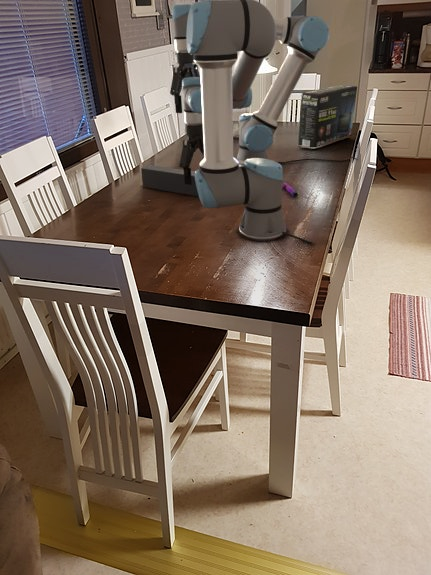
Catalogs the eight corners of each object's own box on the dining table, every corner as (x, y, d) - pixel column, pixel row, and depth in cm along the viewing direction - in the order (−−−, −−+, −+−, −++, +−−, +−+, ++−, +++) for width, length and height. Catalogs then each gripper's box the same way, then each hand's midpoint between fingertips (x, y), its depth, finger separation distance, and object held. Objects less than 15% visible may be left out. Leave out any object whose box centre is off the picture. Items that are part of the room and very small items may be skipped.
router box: (314, 151, 231) (318, 94, 217) (296, 148, 237) (299, 92, 224) (352, 138, 251) (358, 85, 238) (335, 135, 258) (340, 83, 245)
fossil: (240, 133, 254) (221, 116, 257) (229, 149, 261) (212, 132, 264) (255, 132, 268) (238, 116, 271) (245, 147, 274) (228, 131, 277)
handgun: (264, 183, 192) (264, 178, 191) (281, 181, 193) (281, 176, 192) (279, 199, 175) (279, 194, 174) (298, 197, 176) (298, 192, 175)
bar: (209, 192, 184) (208, 173, 180) (202, 197, 180) (201, 177, 176) (150, 183, 197) (148, 164, 193) (143, 187, 193) (141, 168, 189)
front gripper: (203, 115, 180) (205, 168, 192) (166, 129, 162) (171, 187, 174) (220, 117, 177) (221, 170, 188) (184, 131, 159) (188, 190, 170)
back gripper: (193, 48, 187) (196, 104, 198) (157, 54, 168) (163, 115, 179) (209, 48, 183) (211, 105, 194) (174, 54, 165) (178, 116, 176)
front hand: (197, 178), depth 181 cm, fingers open, 13 cm apart
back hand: (188, 110), depth 187 cm, fingers open, 13 cm apart
